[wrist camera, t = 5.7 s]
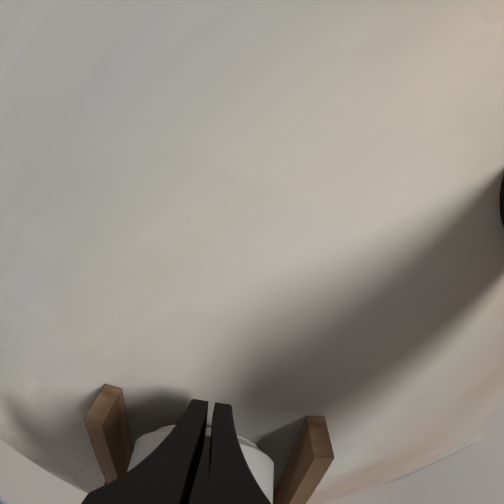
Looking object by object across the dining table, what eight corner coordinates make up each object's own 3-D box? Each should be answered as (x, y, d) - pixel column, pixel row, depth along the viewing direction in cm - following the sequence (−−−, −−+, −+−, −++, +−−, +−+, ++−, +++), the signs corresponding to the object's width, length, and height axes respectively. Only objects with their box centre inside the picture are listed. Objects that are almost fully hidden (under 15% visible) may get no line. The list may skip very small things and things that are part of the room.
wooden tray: (115, 474, 17) (104, 502, 14) (89, 378, 14) (66, 412, 11) (296, 500, 17) (299, 531, 14) (341, 416, 15) (353, 456, 12)
